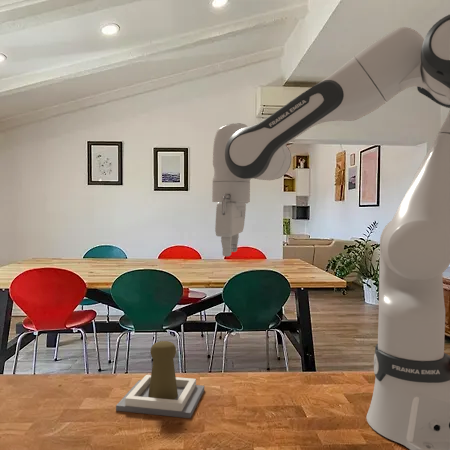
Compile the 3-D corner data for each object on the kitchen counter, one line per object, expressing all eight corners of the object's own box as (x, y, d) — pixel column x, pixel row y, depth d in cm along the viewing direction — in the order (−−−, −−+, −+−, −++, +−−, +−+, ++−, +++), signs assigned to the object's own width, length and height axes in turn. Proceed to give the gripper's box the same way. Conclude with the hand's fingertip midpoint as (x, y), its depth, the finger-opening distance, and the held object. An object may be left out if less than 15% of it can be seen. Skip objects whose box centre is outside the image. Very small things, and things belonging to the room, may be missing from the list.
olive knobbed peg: (172, 403, 80) (172, 348, 79) (143, 400, 81) (143, 346, 80) (181, 390, 85) (182, 339, 85) (154, 387, 87) (155, 337, 86)
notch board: (204, 390, 88) (204, 378, 88) (190, 418, 76) (190, 405, 76) (139, 384, 90) (139, 373, 90) (115, 410, 79) (115, 398, 78)
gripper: (238, 193, 84) (237, 259, 84) (249, 196, 104) (248, 249, 104) (208, 193, 85) (207, 258, 85) (225, 196, 105) (224, 249, 105)
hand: (230, 253), depth 95 cm, fingers open, 8 cm apart
